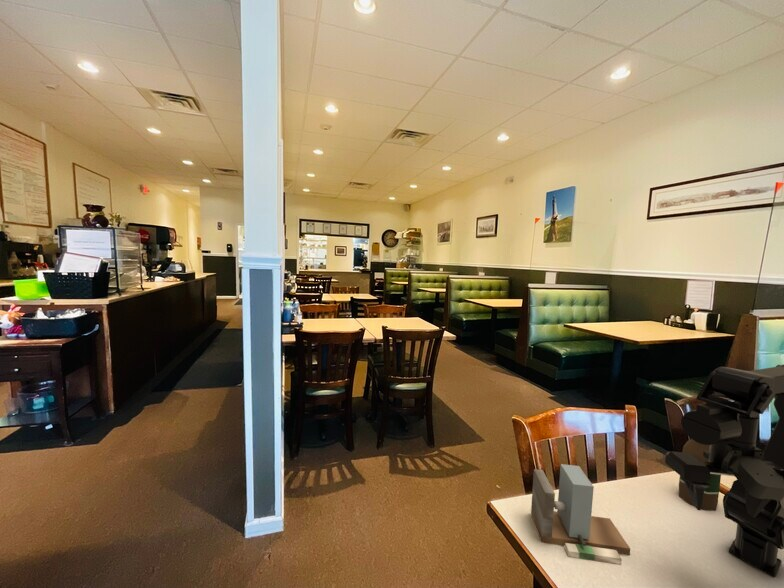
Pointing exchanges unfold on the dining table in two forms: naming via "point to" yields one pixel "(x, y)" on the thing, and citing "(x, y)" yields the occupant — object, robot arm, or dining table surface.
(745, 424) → the robot arm
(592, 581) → the dining table surface
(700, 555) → the dining table surface
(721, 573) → the dining table surface
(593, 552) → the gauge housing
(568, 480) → the gauge carriage
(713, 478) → the beer bottle
